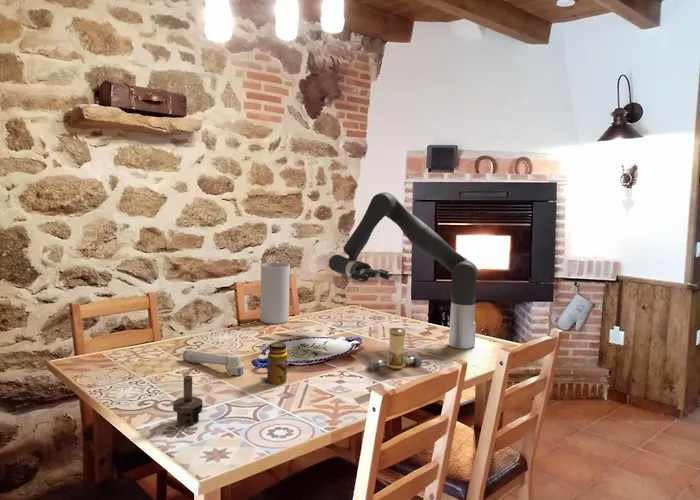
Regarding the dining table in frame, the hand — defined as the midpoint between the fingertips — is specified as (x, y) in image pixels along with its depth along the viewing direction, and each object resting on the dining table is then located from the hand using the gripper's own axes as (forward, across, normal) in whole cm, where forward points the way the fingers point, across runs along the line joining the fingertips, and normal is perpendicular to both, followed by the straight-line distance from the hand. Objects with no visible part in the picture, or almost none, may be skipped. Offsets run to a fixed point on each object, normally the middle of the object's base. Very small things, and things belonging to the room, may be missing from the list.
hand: (377, 277), depth 204 cm
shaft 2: (+18, +4, +28) cm, 34 cm away
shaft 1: (+18, -9, +28) cm, 34 cm away
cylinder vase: (-55, -22, +27) cm, 65 cm away
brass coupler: (+19, -2, +28) cm, 33 cm away
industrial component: (+38, -73, +28) cm, 87 cm away
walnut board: (+15, -2, +28) cm, 32 cm away
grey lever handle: (-2, -59, +28) cm, 65 cm away
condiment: (+17, -44, +28) cm, 55 cm away
